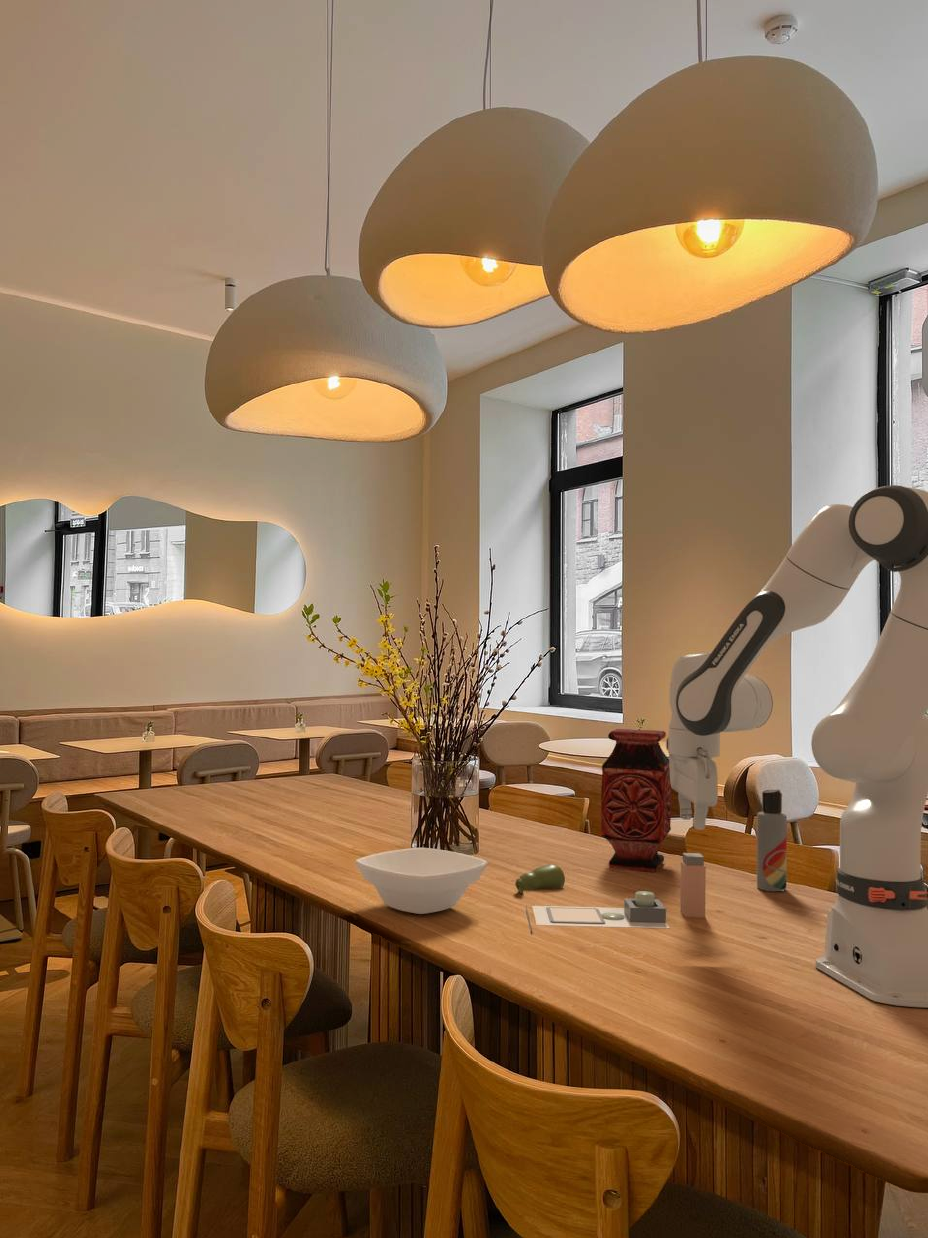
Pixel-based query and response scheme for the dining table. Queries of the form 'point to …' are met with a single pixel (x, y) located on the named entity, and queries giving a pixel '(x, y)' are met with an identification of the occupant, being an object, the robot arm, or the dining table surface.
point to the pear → (541, 878)
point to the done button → (644, 899)
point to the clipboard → (586, 917)
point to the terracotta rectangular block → (693, 885)
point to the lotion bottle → (771, 843)
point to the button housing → (645, 912)
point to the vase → (636, 799)
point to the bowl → (421, 877)
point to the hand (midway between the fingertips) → (692, 823)
